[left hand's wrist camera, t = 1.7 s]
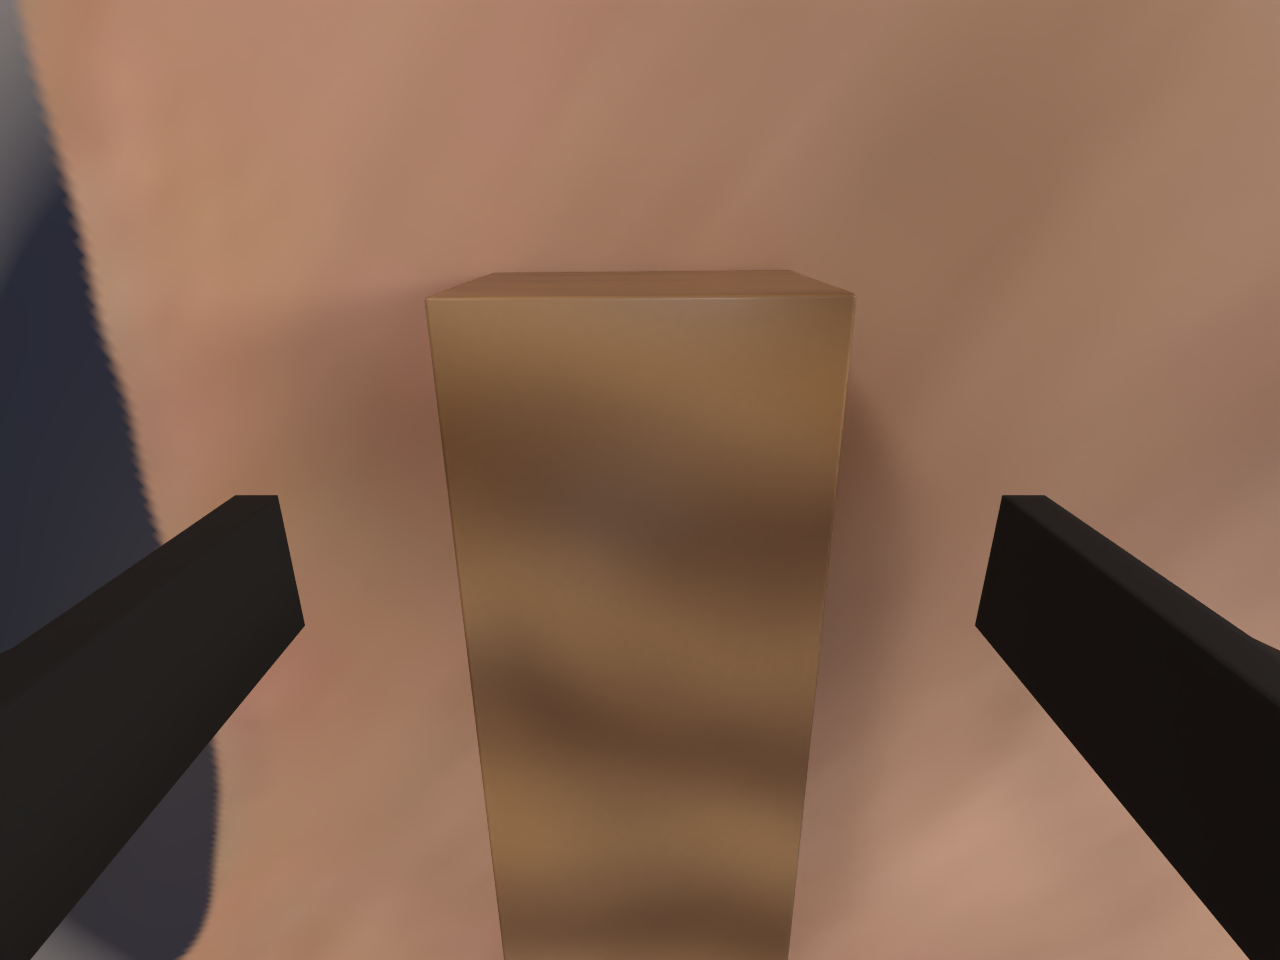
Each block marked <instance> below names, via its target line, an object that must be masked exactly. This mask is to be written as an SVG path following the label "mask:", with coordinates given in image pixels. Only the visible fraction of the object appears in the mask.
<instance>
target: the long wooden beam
mask: <svg viewBox="0 0 1280 960" xmlns="http://www.w3.org/2000/svg"><path fill="white" fill-rule="evenodd" d="M855 304H856V295H855V294H854V293H851V292H848V291H846V290H843V289H840V288H837V287H834V286H832V285H829V284H826V283H823V282H820V281H818V280H815V279H812V278H809V277H806V276H803V275H801V274H798V273H795V272H792V271H789V270H765V271H655V272H546V273H492V274H489V275H487V276H484V277H481V278H478V279H476V280H473V281H470V282H467V283H465V284H462V285H459V286H456V287H454V288H451V289H448V290H446V291H443V292H440V293H437V294H435V295H432V296H429V297H427V298H426V299H425V306H426V315H427V323H428V331H429V340H430V348H431V356H432V364H433V373H434V381H435V389H436V398H437V406H438V414H439V422H440V431H441V439H442V447H443V456H444V464H445V472H446V481H447V489H448V497H449V505H450V514H451V522H452V530H453V539H454V547H455V555H456V564H457V572H458V580H459V588H460V597H461V605H462V613H463V622H464V630H465V638H466V647H467V655H468V663H469V671H470V680H471V688H472V696H473V705H474V713H475V721H476V729H477V738H478V746H479V754H480V763H481V771H482V779H483V788H484V796H485V804H486V812H487V821H488V829H489V837H490V846H491V854H492V862H493V871H494V879H495V887H496V895H497V904H498V912H499V920H500V929H501V937H502V945H503V954H504V960H788V953H789V943H790V934H791V924H792V914H793V905H794V895H795V885H796V875H797V866H798V856H799V846H800V837H801V827H802V817H803V808H804V798H805V788H806V779H807V769H808V759H809V750H810V740H811V730H812V721H813V711H814V701H815V692H816V682H817V672H818V662H819V653H820V643H821V633H822V624H823V614H824V604H825V595H826V585H827V575H828V566H829V556H830V546H831V537H832V527H833V517H834V508H835V498H836V488H837V479H838V469H839V459H840V450H841V440H842V430H843V420H844V411H845V401H846V391H847V382H848V372H849V362H850V353H851V343H852V333H853V324H854V314H855Z"/></svg>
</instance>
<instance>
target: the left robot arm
mask: <svg viewBox="0 0 1280 960" xmlns="http://www.w3.org/2000/svg"><path fill="white" fill-rule="evenodd" d="M304 626H305V624H304V619H303V614H302V609H301V604H300V600H299V595H298V590H297V585H296V581H295V576H294V571H293V566H292V562H291V557H290V552H289V547H288V542H287V538H286V533H285V528H284V523H283V519H282V514H281V509H280V504H279V500H278V495H235V496H234V497H232V498H231V499H229V500H228V501H226V502H225V503H223V504H222V505H221V506H219V507H218V508H216V509H215V510H213V511H212V512H210V513H209V514H207V515H206V516H205V517H203V518H202V519H200V520H199V521H197V522H196V523H194V524H193V525H191V526H190V527H188V528H187V529H186V530H184V531H183V532H181V533H180V534H178V535H177V536H175V537H174V538H172V539H171V540H170V541H168V542H167V543H165V544H164V545H162V546H161V547H159V548H158V549H156V550H155V551H154V552H152V553H151V554H149V555H148V556H146V557H145V558H143V559H142V560H140V561H139V562H138V563H136V564H135V565H133V566H132V567H130V568H129V569H127V570H126V571H124V572H123V573H121V574H120V575H119V576H117V577H116V578H114V579H113V580H111V581H110V582H108V583H107V584H105V585H104V586H102V587H101V588H100V589H98V590H97V591H95V592H94V593H92V594H91V595H89V596H88V597H86V598H85V599H84V600H82V601H81V602H79V603H78V604H76V605H75V606H73V607H72V608H70V609H69V610H68V611H66V612H65V613H63V614H62V615H60V616H59V617H57V618H56V619H54V620H53V621H51V622H50V623H49V624H47V625H46V626H44V627H43V628H41V629H40V630H38V631H37V632H35V633H34V634H33V635H31V636H30V637H28V638H27V639H25V640H24V641H22V642H21V643H20V644H18V645H16V646H15V647H14V648H12V649H9V650H7V651H5V652H3V653H1V654H0V960H30V959H31V958H32V957H33V956H34V955H35V953H36V952H37V951H38V950H39V948H40V947H41V946H42V945H43V943H44V942H45V941H46V940H47V939H48V937H49V936H50V935H51V934H52V933H53V931H54V930H55V929H56V928H57V927H58V925H59V924H60V923H61V922H62V920H63V919H64V918H65V917H66V916H67V914H68V913H69V912H70V911H71V909H72V908H73V907H74V906H75V905H76V903H77V902H78V901H79V900H80V899H81V897H82V896H83V895H84V894H85V892H86V891H87V890H88V889H89V888H90V886H91V885H92V884H93V883H94V881H95V880H96V879H97V878H98V877H99V875H100V874H101V873H102V872H103V871H104V869H105V868H106V867H107V866H108V864H109V863H110V862H111V861H112V860H113V858H114V857H115V856H116V855H117V854H118V852H119V851H120V850H121V849H122V847H123V846H124V845H125V844H126V843H127V841H128V840H129V839H130V838H131V836H132V835H133V834H134V833H135V832H136V830H137V829H138V828H139V827H140V826H141V824H142V823H143V822H144V821H145V819H146V818H147V817H148V816H149V815H150V813H151V812H152V811H153V810H154V808H155V807H156V806H157V805H158V804H159V802H160V801H161V800H162V799H163V798H164V796H165V795H166V794H167V793H168V791H169V790H170V789H171V788H172V787H173V785H174V784H175V783H176V782H177V780H178V779H179V778H180V777H181V776H182V774H183V773H184V772H185V771H186V770H187V768H188V767H189V766H190V765H191V763H192V762H193V761H194V760H195V758H196V757H197V756H198V755H199V754H200V753H201V751H202V750H203V749H204V748H205V746H206V745H207V744H208V743H209V742H210V740H211V739H212V738H213V737H214V735H215V734H216V733H217V732H218V731H219V729H220V728H221V727H222V726H223V725H224V723H225V722H226V721H227V720H228V718H229V717H230V716H231V715H232V714H233V712H234V711H235V710H236V709H237V707H238V706H239V705H240V704H241V703H242V701H243V700H244V699H245V698H246V697H247V695H248V694H249V693H250V692H251V690H252V689H253V688H254V687H255V686H256V684H257V683H258V682H259V681H260V680H261V678H262V677H263V676H264V675H265V673H266V672H267V671H268V670H269V669H270V667H271V666H272V665H273V664H274V662H275V661H276V660H277V659H278V658H279V656H280V655H281V654H282V653H283V652H284V650H285V649H286V648H287V647H288V645H289V644H290V643H291V642H292V641H293V639H294V638H295V637H296V636H297V634H298V633H299V632H300V631H301V630H302V628H303V627H304ZM975 626H976V627H977V628H978V630H979V631H980V632H981V633H982V634H983V636H984V637H985V638H986V639H987V641H988V642H989V643H990V644H991V645H992V647H993V648H994V649H995V650H996V652H997V653H998V654H999V655H1000V656H1001V658H1002V659H1003V660H1004V661H1005V662H1006V664H1007V665H1008V666H1009V667H1010V669H1011V670H1012V671H1013V672H1014V673H1015V675H1016V676H1017V677H1018V678H1019V680H1020V681H1021V682H1022V683H1023V684H1024V686H1025V687H1026V688H1027V689H1028V690H1029V692H1030V693H1031V694H1032V695H1033V697H1034V698H1035V699H1036V700H1037V701H1038V703H1039V704H1040V705H1041V706H1042V707H1043V709H1044V710H1045V711H1046V712H1047V714H1048V715H1049V716H1050V717H1051V718H1052V720H1053V721H1054V722H1055V723H1056V725H1057V726H1058V727H1059V728H1060V729H1061V731H1062V732H1063V733H1064V734H1065V735H1066V737H1067V738H1068V739H1069V740H1070V742H1071V743H1072V744H1073V745H1074V746H1075V748H1076V749H1077V750H1078V751H1079V753H1080V754H1081V755H1082V756H1083V757H1084V759H1085V760H1086V761H1087V762H1088V763H1089V765H1090V766H1091V767H1092V768H1093V770H1094V771H1095V772H1096V773H1097V774H1098V776H1099V777H1100V778H1101V779H1102V781H1103V782H1104V783H1105V784H1106V785H1107V787H1108V788H1109V789H1110V790H1111V791H1112V793H1113V794H1114V795H1115V796H1116V798H1117V799H1118V800H1119V801H1120V802H1121V804H1122V805H1123V806H1124V807H1125V808H1126V810H1127V811H1128V812H1129V813H1130V815H1131V816H1132V817H1133V818H1134V819H1135V821H1136V822H1137V823H1138V824H1139V826H1140V827H1141V828H1142V829H1143V830H1144V832H1145V833H1146V834H1147V835H1148V836H1149V838H1150V839H1151V840H1152V841H1153V843H1154V844H1155V845H1156V846H1157V847H1158V849H1159V850H1160V851H1161V852H1162V854H1163V855H1164V856H1165V857H1166V858H1167V860H1168V861H1169V862H1170V863H1171V864H1172V866H1173V867H1174V868H1175V869H1176V871H1177V872H1178V873H1179V874H1180V875H1181V877H1182V878H1183V879H1184V880H1185V881H1186V883H1187V884H1188V885H1189V886H1190V888H1191V889H1192V890H1193V891H1194V892H1195V894H1196V895H1197V896H1198V897H1199V899H1200V900H1201V901H1202V902H1203V903H1204V905H1205V906H1206V907H1207V908H1208V909H1209V911H1210V912H1211V913H1212V914H1213V916H1214V917H1215V918H1216V919H1217V920H1218V922H1219V923H1220V924H1221V925H1222V927H1223V928H1224V929H1225V930H1226V931H1227V933H1228V934H1229V935H1230V936H1231V937H1232V939H1233V940H1234V941H1235V942H1236V944H1237V945H1238V946H1239V947H1240V948H1241V950H1242V951H1243V952H1244V953H1245V955H1246V956H1247V957H1248V958H1249V959H1250V960H1280V651H1279V650H1277V649H1275V648H1273V647H1271V646H1269V645H1266V644H1264V643H1262V642H1260V641H1258V640H1256V639H1254V638H1252V637H1250V636H1249V635H1247V634H1246V633H1245V632H1243V631H1242V630H1240V629H1239V628H1237V627H1236V626H1234V625H1233V624H1231V623H1230V622H1229V621H1227V620H1226V619H1224V618H1223V617H1221V616H1220V615H1218V614H1217V613H1215V612H1214V611H1212V610H1211V609H1210V608H1208V607H1207V606H1205V605H1204V604H1202V603H1201V602H1199V601H1198V600H1196V599H1195V598H1194V597H1192V596H1191V595H1189V594H1188V593H1186V592H1185V591H1183V590H1182V589H1180V588H1179V587H1178V586H1176V585H1175V584H1173V583H1172V582H1170V581H1169V580H1167V579H1166V578H1164V577H1163V576H1161V575H1160V574H1159V573H1157V572H1156V571H1154V570H1153V569H1151V568H1150V567H1148V566H1147V565H1145V564H1144V563H1143V562H1141V561H1140V560H1138V559H1137V558H1135V557H1134V556H1132V555H1131V554H1129V553H1128V552H1126V551H1125V550H1124V549H1122V548H1121V547H1119V546H1118V545H1116V544H1115V543H1113V542H1112V541H1110V540H1109V539H1108V538H1106V537H1105V536H1103V535H1102V534H1100V533H1099V532H1097V531H1096V530H1094V529H1093V528H1092V527H1090V526H1089V525H1087V524H1086V523H1084V522H1083V521H1081V520H1080V519H1078V518H1077V517H1075V516H1074V515H1073V514H1071V513H1070V512H1068V511H1067V510H1065V509H1064V508H1062V507H1061V506H1059V505H1058V504H1057V503H1055V502H1054V501H1052V500H1051V499H1049V498H1048V497H1046V496H1045V495H1002V500H1001V504H1000V509H999V514H998V519H997V523H996V528H995V533H994V538H993V542H992V547H991V552H990V557H989V562H988V566H987V571H986V576H985V581H984V585H983V590H982V595H981V600H980V604H979V609H978V614H977V619H976V623H975Z"/></svg>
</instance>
